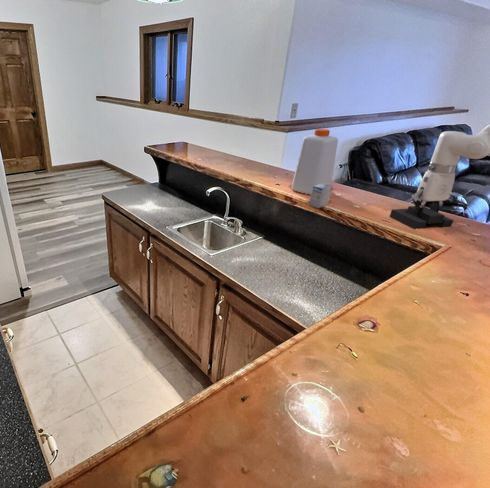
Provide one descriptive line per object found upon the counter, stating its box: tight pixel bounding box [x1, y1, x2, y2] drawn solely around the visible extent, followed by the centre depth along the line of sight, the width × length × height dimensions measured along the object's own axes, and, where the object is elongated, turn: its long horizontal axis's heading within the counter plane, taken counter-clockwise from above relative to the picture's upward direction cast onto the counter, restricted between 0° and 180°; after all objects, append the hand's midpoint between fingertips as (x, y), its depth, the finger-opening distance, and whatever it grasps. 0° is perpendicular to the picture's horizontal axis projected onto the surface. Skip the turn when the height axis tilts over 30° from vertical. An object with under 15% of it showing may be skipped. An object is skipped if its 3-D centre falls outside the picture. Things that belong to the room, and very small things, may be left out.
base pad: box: [389, 208, 454, 230], centre depth 132 cm, size 15×13×3 cm
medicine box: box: [309, 183, 333, 209], centre depth 146 cm, size 8×4×9 cm, turn 130°
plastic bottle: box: [291, 128, 339, 196], centre depth 160 cm, size 15×15×28 cm
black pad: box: [407, 205, 446, 225], centre depth 130 cm, size 6×10×3 cm, turn 9°
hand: (424, 215), depth 130 cm, fingers closed on black pad, 6 cm apart
